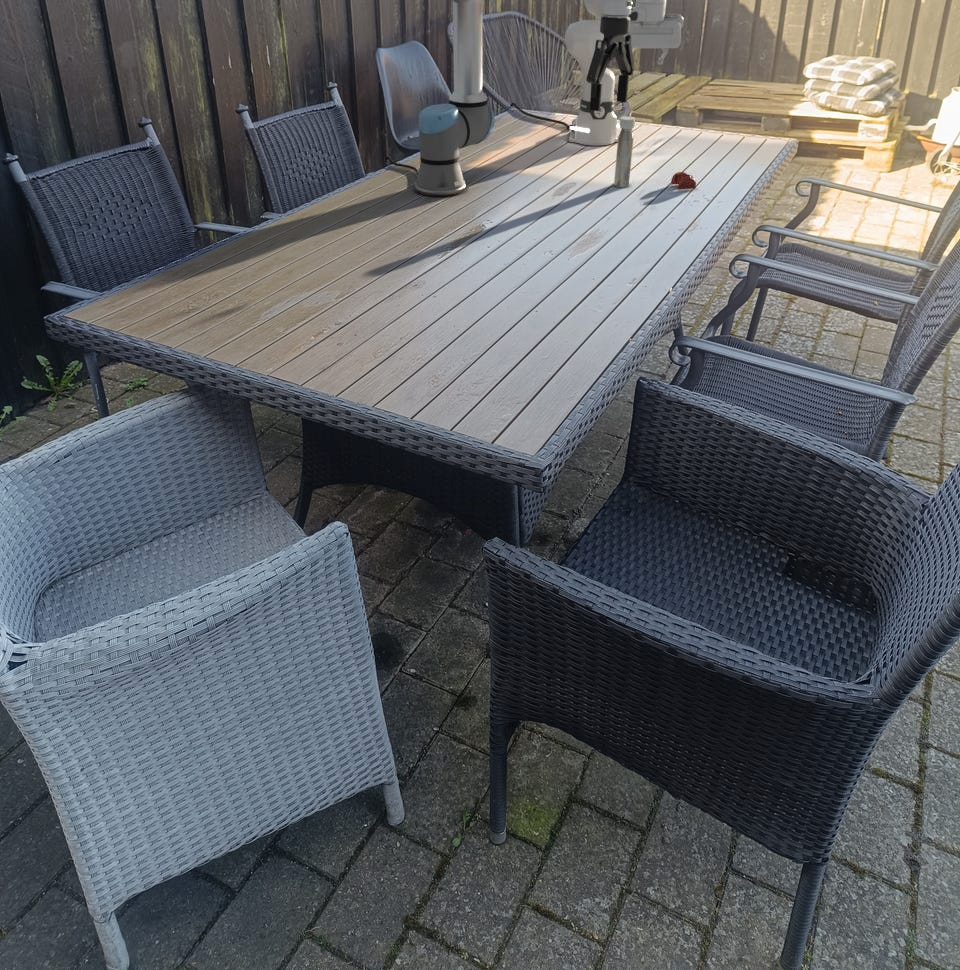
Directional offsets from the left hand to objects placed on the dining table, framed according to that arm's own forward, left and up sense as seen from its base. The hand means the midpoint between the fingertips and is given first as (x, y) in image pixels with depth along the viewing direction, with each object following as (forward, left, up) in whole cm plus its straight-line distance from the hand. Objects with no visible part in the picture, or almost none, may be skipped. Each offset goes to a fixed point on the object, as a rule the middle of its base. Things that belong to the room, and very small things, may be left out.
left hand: (608, 106), depth 226 cm
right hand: (-15, +46, +3) cm, 48 cm away
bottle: (-8, +25, -28) cm, 39 cm away
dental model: (+8, +36, -28) cm, 46 cm away
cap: (-8, +25, -9) cm, 28 cm away
